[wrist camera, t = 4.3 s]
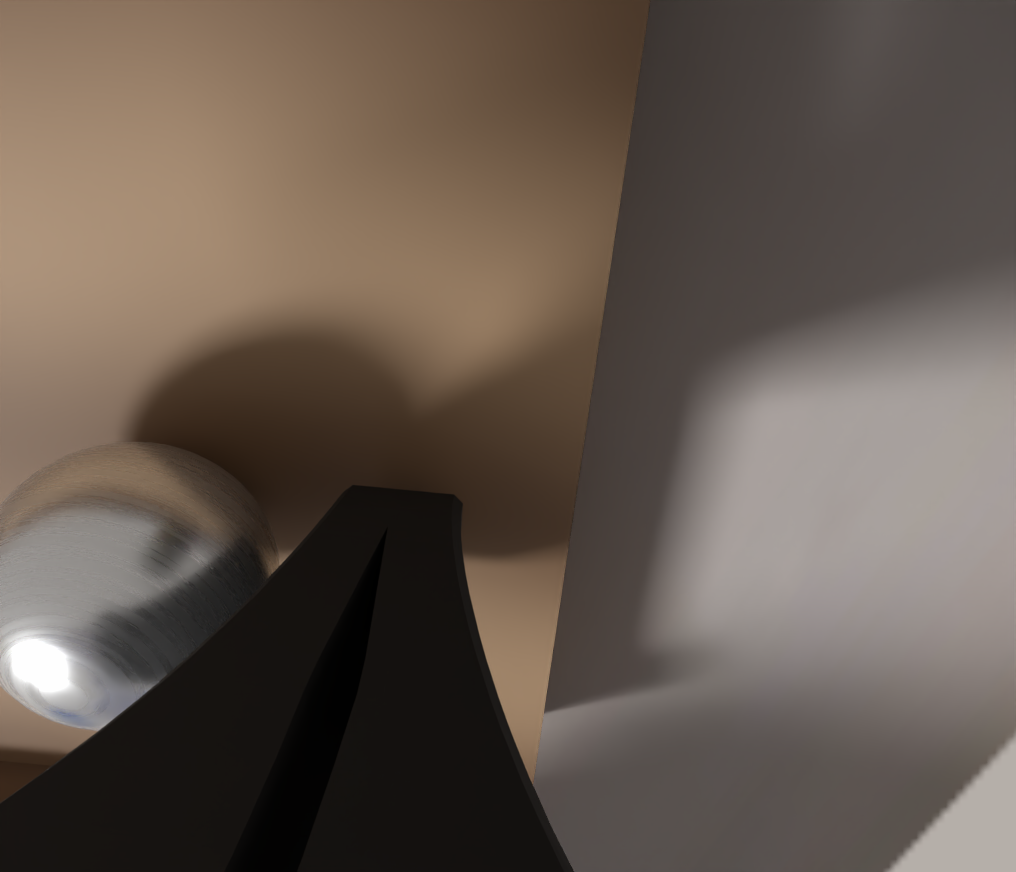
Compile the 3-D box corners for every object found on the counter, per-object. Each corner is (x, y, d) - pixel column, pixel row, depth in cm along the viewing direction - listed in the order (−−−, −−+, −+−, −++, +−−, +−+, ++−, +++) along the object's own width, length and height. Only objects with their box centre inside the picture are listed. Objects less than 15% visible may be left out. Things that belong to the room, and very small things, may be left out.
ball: (316, 597, 11) (242, 808, 9) (91, 576, 11) (-52, 779, 9) (302, 403, 10) (203, 591, 7) (36, 378, 10) (-163, 555, 7)
